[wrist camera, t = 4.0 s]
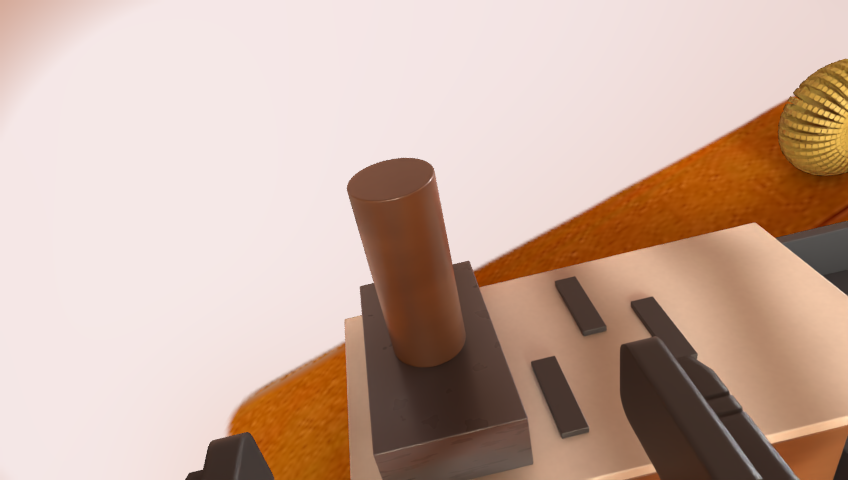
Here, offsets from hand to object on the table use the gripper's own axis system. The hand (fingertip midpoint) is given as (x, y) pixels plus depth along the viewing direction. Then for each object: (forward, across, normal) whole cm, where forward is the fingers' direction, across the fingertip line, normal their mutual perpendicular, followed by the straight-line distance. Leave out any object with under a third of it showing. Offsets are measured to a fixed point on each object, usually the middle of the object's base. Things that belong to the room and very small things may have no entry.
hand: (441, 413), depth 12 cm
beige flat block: (+8, -6, +14) cm, 17 cm away
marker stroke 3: (+8, -9, +8) cm, 14 cm away
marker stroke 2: (+6, -4, +8) cm, 11 cm away
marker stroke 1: (+10, -7, +8) cm, 15 cm away
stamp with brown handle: (+8, 0, +8) cm, 11 cm away
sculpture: (+25, -30, +14) cm, 41 cm away
